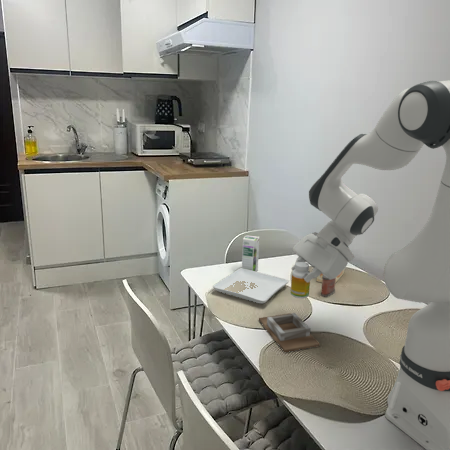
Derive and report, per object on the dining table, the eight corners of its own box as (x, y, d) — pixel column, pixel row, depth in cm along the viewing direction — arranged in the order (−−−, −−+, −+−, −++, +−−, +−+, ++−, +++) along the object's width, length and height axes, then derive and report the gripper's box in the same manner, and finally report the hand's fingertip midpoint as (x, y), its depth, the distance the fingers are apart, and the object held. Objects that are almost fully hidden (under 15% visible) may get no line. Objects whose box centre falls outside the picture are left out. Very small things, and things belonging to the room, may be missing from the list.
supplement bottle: (308, 300, 120) (311, 268, 117) (289, 297, 121) (292, 266, 118) (309, 291, 125) (311, 261, 122) (290, 289, 126) (293, 259, 123)
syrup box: (241, 273, 167) (242, 238, 163) (244, 267, 172) (246, 234, 168) (254, 275, 165) (256, 240, 161) (258, 269, 171) (259, 236, 166)
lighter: (328, 288, 156) (331, 263, 153) (336, 290, 154) (339, 265, 151) (318, 295, 150) (320, 269, 147) (326, 298, 148) (329, 272, 145)
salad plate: (239, 274, 166) (240, 266, 165) (289, 287, 156) (290, 279, 155) (210, 294, 149) (211, 285, 148) (264, 310, 139) (265, 301, 138)
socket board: (319, 346, 119) (320, 335, 118) (284, 353, 115) (285, 342, 114) (289, 315, 135) (290, 306, 134) (258, 320, 132) (259, 310, 131)
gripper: (307, 224, 129) (277, 256, 129) (345, 246, 111) (310, 283, 111) (319, 236, 132) (289, 268, 132) (358, 260, 114) (323, 297, 113)
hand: (299, 275), depth 121 cm, fingers closed on supplement bottle, 5 cm apart
